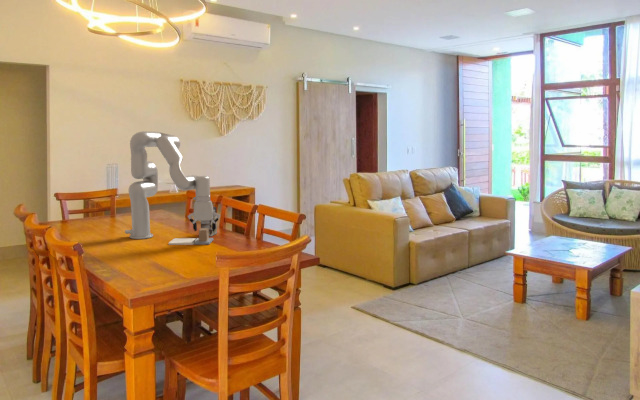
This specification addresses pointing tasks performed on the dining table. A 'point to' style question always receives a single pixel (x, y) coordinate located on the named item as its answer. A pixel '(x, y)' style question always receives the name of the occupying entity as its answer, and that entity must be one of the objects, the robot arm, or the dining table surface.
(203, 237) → the stub
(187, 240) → the board
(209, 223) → the coffee box
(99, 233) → the dining table surface
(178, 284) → the dining table surface
